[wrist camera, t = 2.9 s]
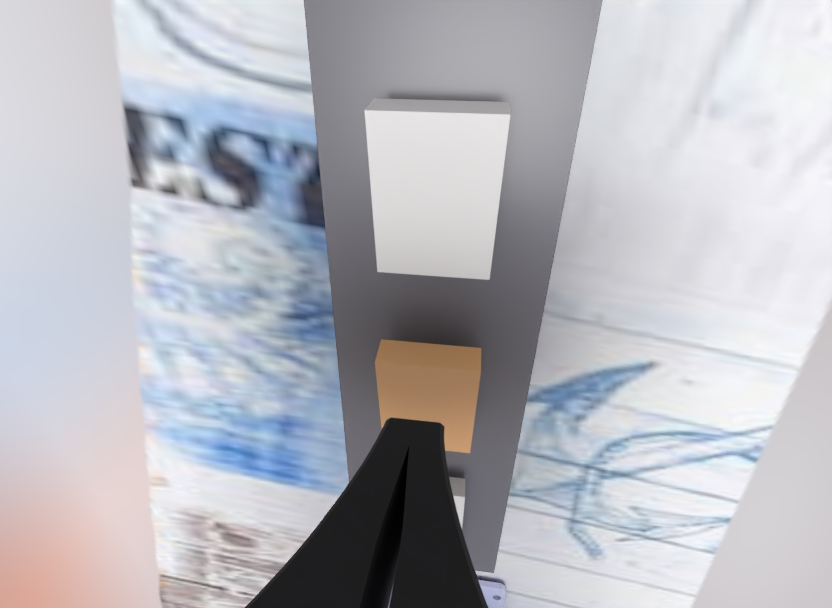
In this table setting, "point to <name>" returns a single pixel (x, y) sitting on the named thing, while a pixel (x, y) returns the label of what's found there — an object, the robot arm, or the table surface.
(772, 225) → the table surface
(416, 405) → the peach rectangular tile
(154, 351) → the table surface
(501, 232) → the power strip
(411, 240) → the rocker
